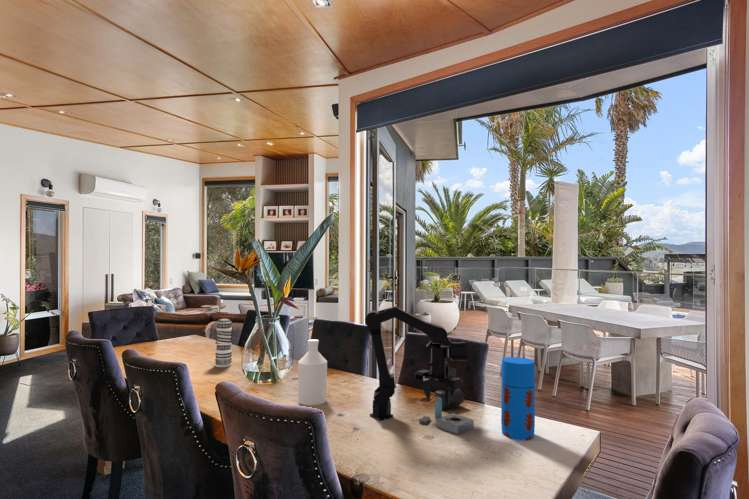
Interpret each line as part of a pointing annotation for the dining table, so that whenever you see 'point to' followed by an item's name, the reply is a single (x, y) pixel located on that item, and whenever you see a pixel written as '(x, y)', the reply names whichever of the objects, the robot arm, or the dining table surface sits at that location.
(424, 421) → the charcoal rectangular brick
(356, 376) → the dining table surface
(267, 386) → the dining table surface
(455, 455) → the dining table surface
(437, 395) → the end cap
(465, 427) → the socket block
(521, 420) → the thermos
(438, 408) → the round bit
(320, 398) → the bottle
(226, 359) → the decorative candle
